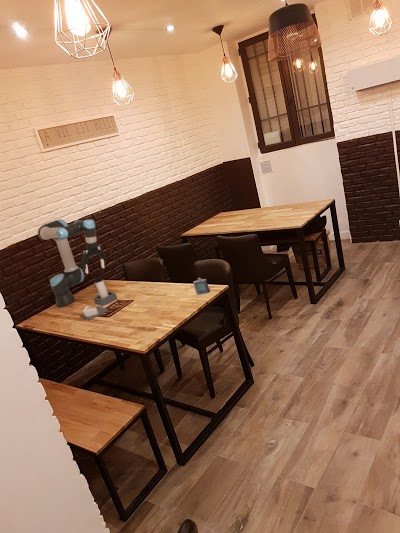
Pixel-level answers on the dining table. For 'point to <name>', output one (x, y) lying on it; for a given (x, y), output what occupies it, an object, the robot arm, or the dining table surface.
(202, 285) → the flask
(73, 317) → the dining table surface
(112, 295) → the sleeve
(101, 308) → the V-cradle
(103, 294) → the travel mug
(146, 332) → the dining table surface
